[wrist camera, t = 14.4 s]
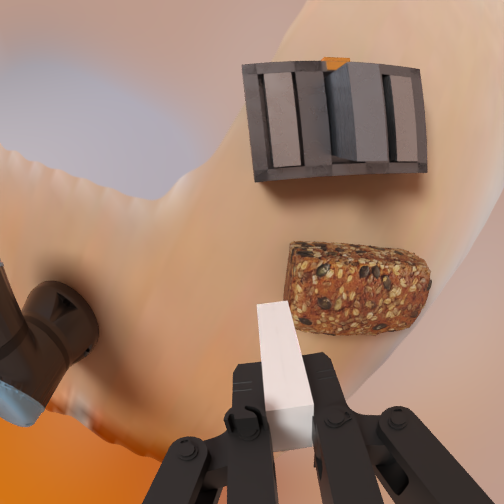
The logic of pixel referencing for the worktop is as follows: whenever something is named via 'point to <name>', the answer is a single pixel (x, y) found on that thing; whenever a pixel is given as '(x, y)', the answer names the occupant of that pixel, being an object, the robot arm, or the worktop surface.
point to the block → (356, 112)
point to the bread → (354, 288)
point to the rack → (326, 121)
